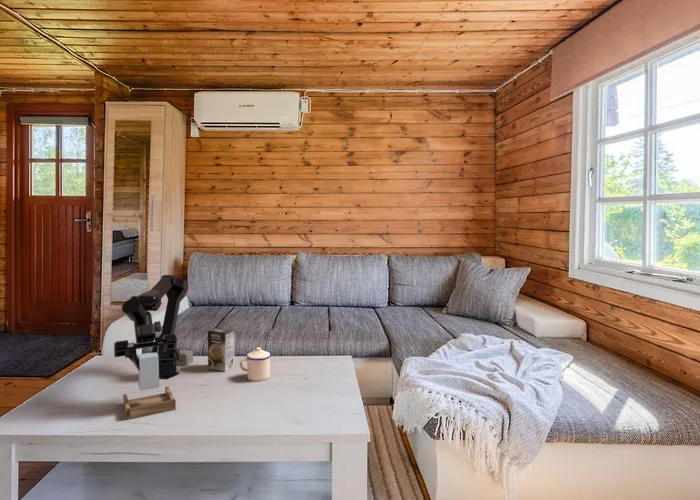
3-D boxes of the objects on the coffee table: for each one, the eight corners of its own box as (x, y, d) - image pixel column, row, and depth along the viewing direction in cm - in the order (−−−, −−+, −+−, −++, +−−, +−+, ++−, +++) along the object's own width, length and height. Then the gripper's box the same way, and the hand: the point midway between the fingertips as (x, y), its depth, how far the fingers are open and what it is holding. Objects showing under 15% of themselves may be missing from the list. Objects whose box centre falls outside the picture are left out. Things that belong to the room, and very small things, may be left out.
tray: (123, 403, 144) (123, 394, 143) (168, 394, 151) (168, 386, 151) (127, 419, 132) (126, 410, 132) (175, 409, 139) (175, 400, 139)
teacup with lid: (272, 373, 173) (272, 344, 172) (267, 381, 164) (267, 351, 163) (243, 372, 173) (242, 344, 172) (236, 381, 164) (236, 351, 163)
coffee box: (207, 369, 177) (206, 330, 176) (217, 364, 183) (217, 326, 182) (225, 372, 174) (224, 332, 173) (235, 367, 180) (234, 329, 179)
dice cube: (182, 361, 187) (182, 350, 187) (193, 362, 186) (192, 350, 186) (175, 365, 182) (175, 353, 182) (186, 365, 181) (186, 354, 181)
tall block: (138, 385, 142) (137, 354, 141) (156, 382, 144) (156, 351, 144) (140, 390, 137) (139, 358, 137) (159, 387, 140) (158, 355, 140)
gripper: (113, 317, 138) (116, 360, 129) (175, 310, 148) (182, 350, 139) (112, 335, 145) (115, 377, 136) (171, 328, 155) (178, 367, 146)
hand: (148, 368), depth 139 cm, fingers closed on tall block, 5 cm apart
